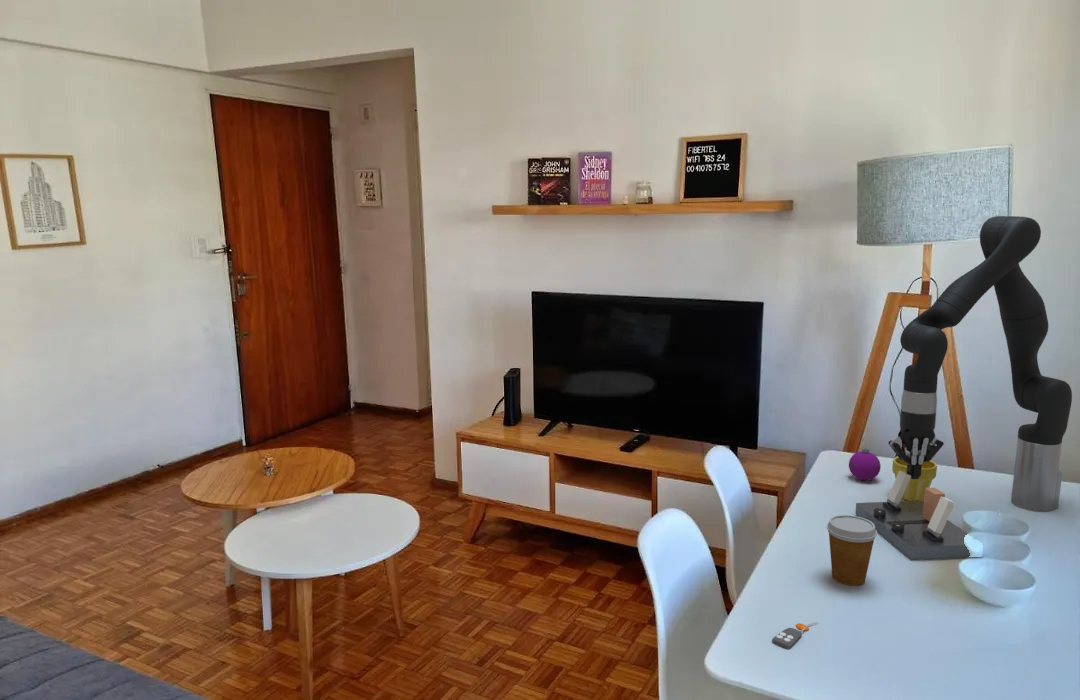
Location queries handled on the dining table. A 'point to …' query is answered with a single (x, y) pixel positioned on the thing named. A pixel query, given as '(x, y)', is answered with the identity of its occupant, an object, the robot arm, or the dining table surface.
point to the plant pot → (916, 486)
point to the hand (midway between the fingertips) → (913, 478)
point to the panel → (913, 531)
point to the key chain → (790, 636)
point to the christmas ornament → (864, 465)
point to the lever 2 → (940, 516)
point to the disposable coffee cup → (850, 547)
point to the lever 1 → (898, 488)
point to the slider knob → (931, 502)
